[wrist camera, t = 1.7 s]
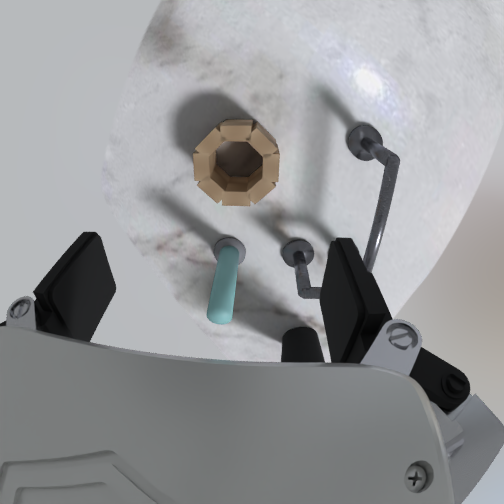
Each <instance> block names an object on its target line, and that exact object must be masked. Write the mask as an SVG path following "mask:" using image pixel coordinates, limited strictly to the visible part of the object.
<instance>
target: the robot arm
mask: <svg viewBox="0 0 504 504" xmlns="http://www.w3.org/2000/svg"><path fill="white" fill-rule="evenodd" d="M115 292H116V284H115V281H114V278H113V275H112V272H111V269H110V266H109V263H108V260H107V256H106V253H105V250H104V246H103V243H102V240H101V237H100V236H99V235H98V234H97V233H96V232H83V233H82V234H81V235H80V236H79V237H78V239H77V240H76V241H75V242H74V243H73V244H72V245H71V246H70V247H69V248H68V250H67V251H66V252H65V253H64V254H63V255H62V257H61V258H60V259H59V260H58V261H57V262H56V264H55V265H54V266H53V267H52V269H51V270H50V271H49V272H48V273H47V275H46V276H45V277H44V278H43V280H42V281H41V282H40V284H39V285H38V286H37V287H36V289H35V290H34V291H33V293H34V295H35V296H36V298H37V299H36V300H35V301H34V300H33V299H32V298H31V297H29V296H26V297H25V296H24V297H21V298H19V299H17V300H16V301H14V302H13V303H12V304H11V306H10V307H9V309H8V311H7V320H6V321H4V322H2V323H1V324H0V504H461V503H462V502H463V501H464V500H465V498H466V497H467V496H468V495H469V493H470V492H471V491H472V490H473V488H474V487H475V486H476V485H477V483H478V482H479V480H480V479H481V478H482V476H483V475H484V474H485V472H486V471H487V469H488V468H489V466H490V465H491V463H492V462H493V460H494V459H495V457H496V456H497V454H498V453H499V451H500V449H501V448H502V446H503V444H504V426H503V424H502V423H501V422H500V420H499V419H498V418H497V417H496V416H495V415H494V414H493V413H492V411H491V410H490V409H489V408H488V407H487V406H486V405H485V404H484V402H483V401H482V400H481V399H480V398H479V397H478V396H477V395H476V394H474V395H473V396H472V395H471V394H470V383H469V381H468V378H467V377H466V376H465V374H464V373H463V372H461V371H460V370H459V369H457V368H455V367H454V366H452V365H450V364H449V363H447V362H445V361H444V360H442V359H440V358H439V357H437V356H435V355H434V354H432V353H430V352H429V351H427V350H425V349H424V348H422V347H421V345H422V336H421V334H420V332H419V330H418V329H417V328H416V327H415V326H414V325H413V324H411V323H410V322H407V321H405V320H400V319H394V320H393V319H392V317H391V314H390V312H389V310H388V307H387V305H386V303H385V300H384V298H383V296H382V294H381V291H380V289H379V287H378V285H377V283H376V280H375V278H374V276H373V274H372V273H371V272H368V271H367V269H366V267H365V265H364V262H363V260H362V258H361V256H360V254H359V252H358V250H357V248H356V246H355V244H354V242H353V240H352V238H336V240H335V241H332V242H331V244H330V249H329V254H328V259H327V264H326V269H325V274H324V278H323V283H322V288H321V292H320V306H321V311H322V315H323V320H324V325H325V330H326V335H327V341H328V346H329V351H330V357H331V362H332V363H321V362H320V363H287V362H250V361H230V360H216V359H203V358H192V357H182V356H173V355H165V354H157V353H150V352H142V351H135V350H129V349H123V348H117V347H112V346H106V345H101V344H96V343H91V342H90V340H91V338H92V336H93V334H94V332H95V330H96V328H97V326H98V324H99V322H100V320H101V318H102V316H103V314H104V312H105V311H106V309H107V307H108V305H109V303H110V301H111V299H112V297H113V296H114V294H115Z"/></svg>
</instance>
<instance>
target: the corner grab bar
mask: <svg viewBox="0 0 504 504" xmlns="http://www.w3.org/2000/svg"><path fill="white" fill-rule="evenodd" d="M348 145H349V149H350V151H351V153H352V154H353V155H354V156H355V157H356V158H358V159H360V160H364V161H369V160H372V159H374V158H375V159H377V160H378V161H379V162H381V163H382V164H383V165H384V166H385V169H384V174H383V180H382V185H381V190H380V194H379V199H378V204H377V208H376V212H375V217H374V221H373V225H372V229H371V233H370V237H369V241H368V244H367V248H366V252H365V255H364V259H363V262H364V265H365V267H366V269H367V271H368V272H372V269H373V266H374V263H375V260H376V256H377V253H378V250H379V246H380V243H381V239H382V236H383V232H384V229H385V225H386V221H387V217H388V213H389V209H390V205H391V201H392V197H393V192H394V188H395V183H396V178H397V174H398V169H399V165H400V159H399V157H398V156H397V155H396V154H394V153H393V152H391V151H390V150H388V149H387V148H385V147H383V141H382V137H381V135H380V133H379V132H378V131H377V130H376V129H374V128H373V127H370V126H366V125H363V126H359V127H357V128H355V129H354V130H353V131H352V132H351V134H350V136H349V139H348ZM355 246H356V245H355ZM356 248H357V246H356ZM357 250H358V248H357ZM358 252H359V250H358ZM313 258H314V251H313V247H312V246H311V244H309V243H308V242H306V241H304V240H295V241H292V242H290V243H288V244H287V245H286V246H285V248H284V250H283V259H284V261H285V263H286V264H287V265H289V266H291V267H294V268H295V275H296V282H297V289H298V295H299V296H300V297H302V298H304V299H320V292H321V288H322V287H311V285H310V280H309V275H308V270H307V265H308V264H309V263H310V262H311V261H312V260H313Z"/></svg>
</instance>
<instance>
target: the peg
mask: <svg viewBox="0 0 504 504" xmlns="http://www.w3.org/2000/svg"><path fill="white" fill-rule="evenodd" d="M245 253H246V250H245V247H244V245H243V244H242V242H240V241H239V240H237V239H235V238H224V239H221V240H220V241H218V242H217V244H216V245H215V249H214V256H215V258H216V260H217V261H218V263H217V267H216V272H215V276H214V281H213V286H212V291H211V295H210V300H209V305H208V310H207V318H208V319H209V320H210V321H211V322H213V323H215V324H227V323H229V322H230V321H231V320H232V314H233V305H234V296H235V288H236V279H237V271H238V265H239V264H240V263H242V262H243V260H244V258H245Z"/></svg>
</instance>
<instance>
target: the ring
mask: <svg viewBox="0 0 504 504" xmlns="http://www.w3.org/2000/svg"><path fill="white" fill-rule="evenodd" d="M224 141H241V142H248V143H249V144H250V145H251V146H252V147H253V148H254V149H255V150H256V151H257V152H258V153H259V154H260V155H261V156H262V157H263V161H262V165H261V166H260V167H259V168H258V169H257V170H256V171H255V172H254V173H252V174H251V175H250V176H249V177H230V176H229V175H228V174H227V173H226V172H225V171H224V170H223V169H221V168H220V167H219V166H218V165H217V160H216V149H217V148H218V147H219V146H220V145H221V144H222V143H223V142H224ZM195 149H196V151H195V152H194V153H193V164H194V179H195V181H199V183H198V184H197V186H198V187H199V188H200V189H202V190H203V191H204V192H205V193H206V194H207V195H208V196H209V197H211V198H212V199H213V200H214V201H215V202H216V203H219V202H220V201H221V200H222V205H224V206H250V201H252V202H253V203H254V204H256V203H257V202H258V201H259V200H261V199H262V198H263V197H264V196H265V195H267V194H268V193H269V192H270V191H271V190H272V189H274V188H275V187H276V184H275V182H278V177H279V158H280V154H279V149H278V145H277V144H276V140H275V139H274V138H273V137H272V136H271V135H270V134H269V133H268V132H267V131H266V130H265V129H264V128H263V127H262V126H261V125H260V124H259V123H258V122H256V123H255V124H254V125H253V120H242V119H230V120H225V121H224V122H221V123H220V124H219V125H217V126H216V127H215V128H214V129H213V130H212V131H211V132H210V133H209V134H208V135H207V137H206V138H205V139H204V140H203V141H202V142H201V143H200V144H199V145H198V146H197V147H196V148H195Z"/></svg>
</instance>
